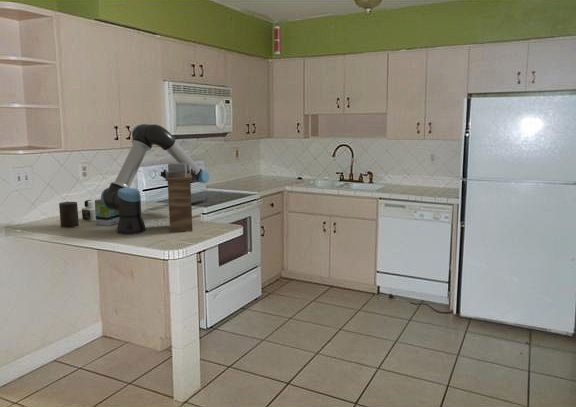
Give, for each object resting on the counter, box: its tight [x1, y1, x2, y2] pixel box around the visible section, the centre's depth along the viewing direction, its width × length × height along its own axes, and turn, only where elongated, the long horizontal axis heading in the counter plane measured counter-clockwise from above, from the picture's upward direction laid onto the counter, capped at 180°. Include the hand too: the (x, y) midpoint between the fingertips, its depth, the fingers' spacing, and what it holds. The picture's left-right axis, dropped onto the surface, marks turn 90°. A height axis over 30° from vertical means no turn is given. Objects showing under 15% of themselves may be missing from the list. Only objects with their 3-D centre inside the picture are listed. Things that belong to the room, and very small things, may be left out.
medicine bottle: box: [81, 199, 96, 222], centre depth 302 cm, size 7×7×12 cm
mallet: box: [167, 162, 187, 177], centre depth 281 cm, size 25×9×7 cm, turn 4°
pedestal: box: [165, 173, 193, 233], centre depth 277 cm, size 19×14×30 cm
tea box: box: [94, 198, 119, 227], centre depth 293 cm, size 15×10×15 cm, turn 159°
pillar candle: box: [58, 201, 80, 229], centre depth 286 cm, size 10×10×15 cm
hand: (178, 167), depth 285 cm, fingers open, 13 cm apart
